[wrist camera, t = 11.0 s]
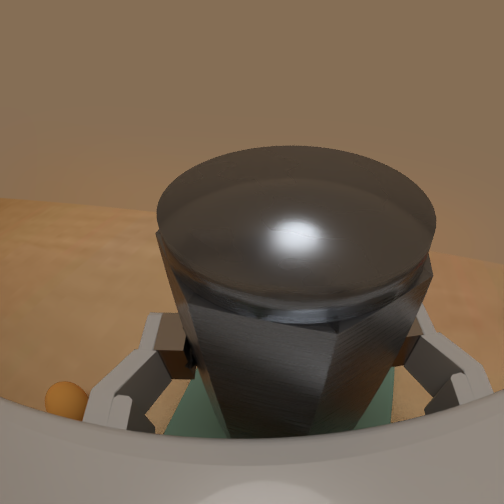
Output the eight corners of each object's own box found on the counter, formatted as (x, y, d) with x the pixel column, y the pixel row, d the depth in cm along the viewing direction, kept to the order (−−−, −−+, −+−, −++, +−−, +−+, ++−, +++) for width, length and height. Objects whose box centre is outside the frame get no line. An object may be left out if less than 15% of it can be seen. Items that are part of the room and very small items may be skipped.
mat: (141, 484, 12) (138, 482, 12) (219, 329, 21) (219, 324, 21) (364, 542, 9) (367, 543, 9) (392, 361, 18) (394, 357, 18)
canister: (205, 452, 12) (96, 250, 5) (246, 358, 17) (222, 141, 10) (330, 483, 11) (464, 313, 3) (351, 379, 15) (414, 160, 8)
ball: (53, 422, 15) (28, 400, 13) (74, 389, 17) (53, 365, 15) (84, 443, 14) (59, 424, 12) (106, 407, 16) (85, 384, 14)
